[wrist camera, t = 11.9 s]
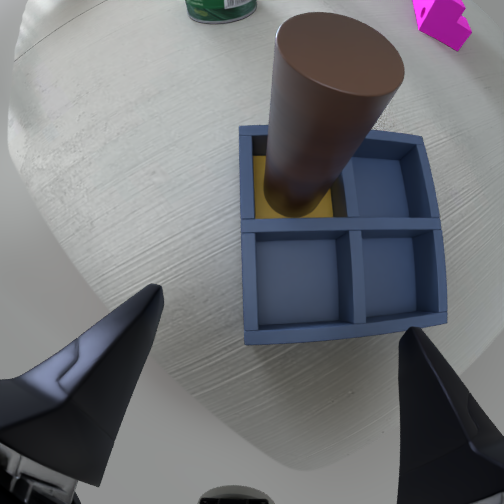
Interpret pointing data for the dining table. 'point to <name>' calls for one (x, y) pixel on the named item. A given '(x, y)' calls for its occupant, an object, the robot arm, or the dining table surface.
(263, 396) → the dining table surface
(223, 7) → the canned tomato
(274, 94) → the brown wooden dowel
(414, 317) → the grid
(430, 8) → the toy block
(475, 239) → the dining table surface
